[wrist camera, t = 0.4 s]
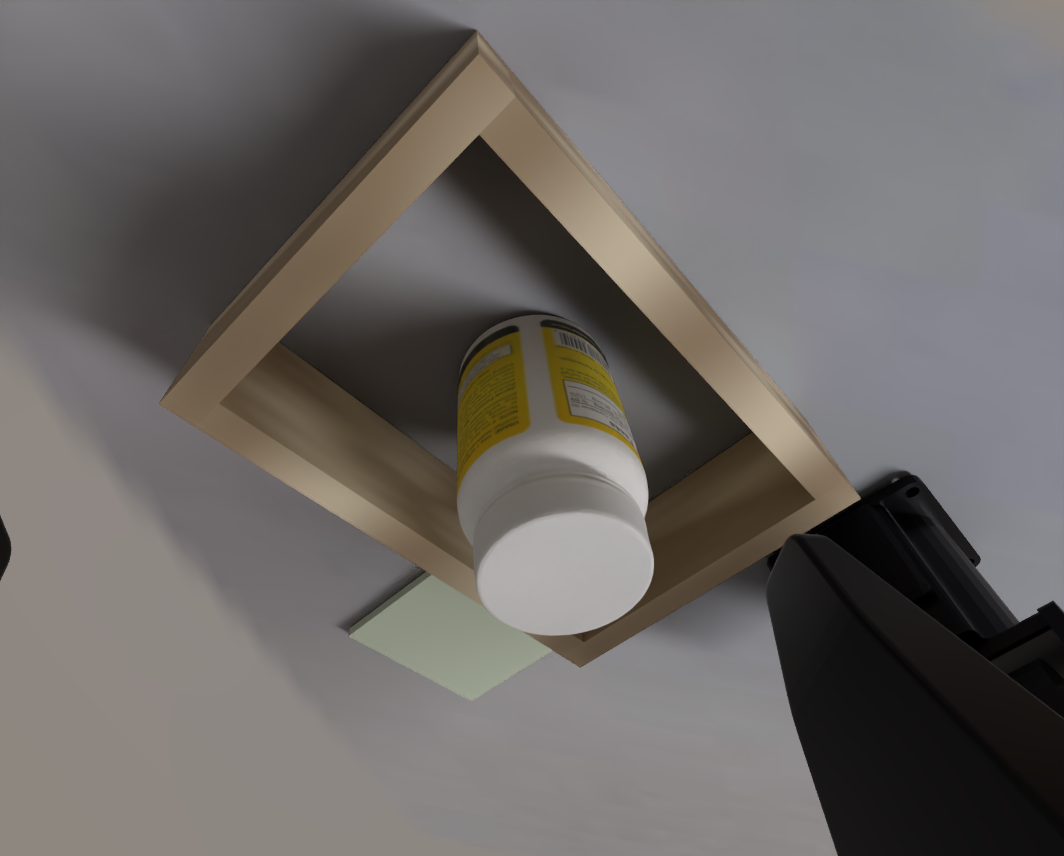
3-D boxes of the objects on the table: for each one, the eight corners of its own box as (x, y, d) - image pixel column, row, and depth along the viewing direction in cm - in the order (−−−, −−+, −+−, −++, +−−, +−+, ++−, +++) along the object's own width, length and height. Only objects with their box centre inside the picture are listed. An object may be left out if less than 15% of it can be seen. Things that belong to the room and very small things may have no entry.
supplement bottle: (466, 443, 23) (465, 656, 16) (449, 316, 20) (439, 510, 13) (607, 431, 23) (665, 637, 16) (609, 303, 20) (680, 488, 14)
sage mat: (587, 620, 29) (589, 627, 29) (471, 693, 31) (471, 701, 31) (469, 539, 26) (469, 546, 25) (349, 628, 28) (348, 636, 28)
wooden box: (807, 421, 23) (860, 498, 20) (566, 581, 27) (580, 667, 24) (476, 29, 16) (478, 53, 13) (209, 327, 20) (158, 403, 17)
